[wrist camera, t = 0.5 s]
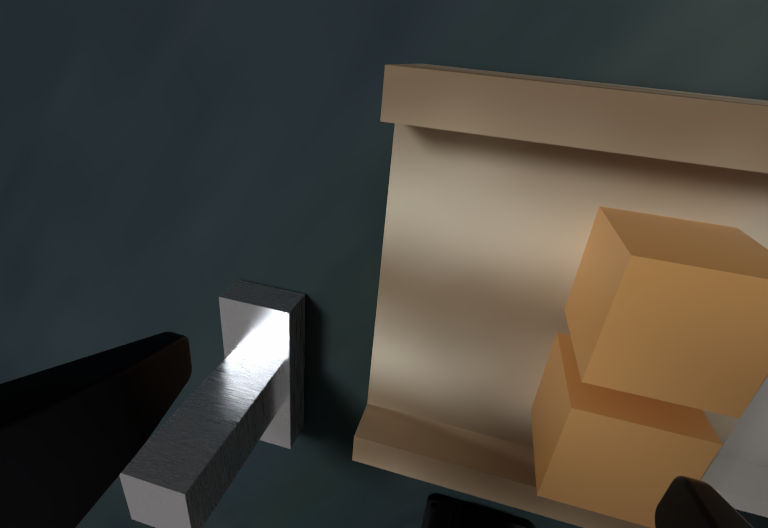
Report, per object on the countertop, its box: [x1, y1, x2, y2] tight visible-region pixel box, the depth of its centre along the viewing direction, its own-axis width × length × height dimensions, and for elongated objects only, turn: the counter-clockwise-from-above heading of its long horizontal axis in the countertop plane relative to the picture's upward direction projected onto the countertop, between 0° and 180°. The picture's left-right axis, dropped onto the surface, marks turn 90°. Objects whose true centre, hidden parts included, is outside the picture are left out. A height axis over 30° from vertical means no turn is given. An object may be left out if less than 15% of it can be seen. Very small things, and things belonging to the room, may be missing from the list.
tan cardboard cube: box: [565, 206, 768, 418], centre depth 13 cm, size 4×4×4 cm
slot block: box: [352, 64, 768, 528], centre depth 17 cm, size 16×14×6 cm
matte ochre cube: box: [531, 332, 722, 528], centre depth 15 cm, size 4×4×4 cm
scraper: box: [119, 280, 305, 528], centre depth 22 cm, size 10×4×10 cm, turn 175°
